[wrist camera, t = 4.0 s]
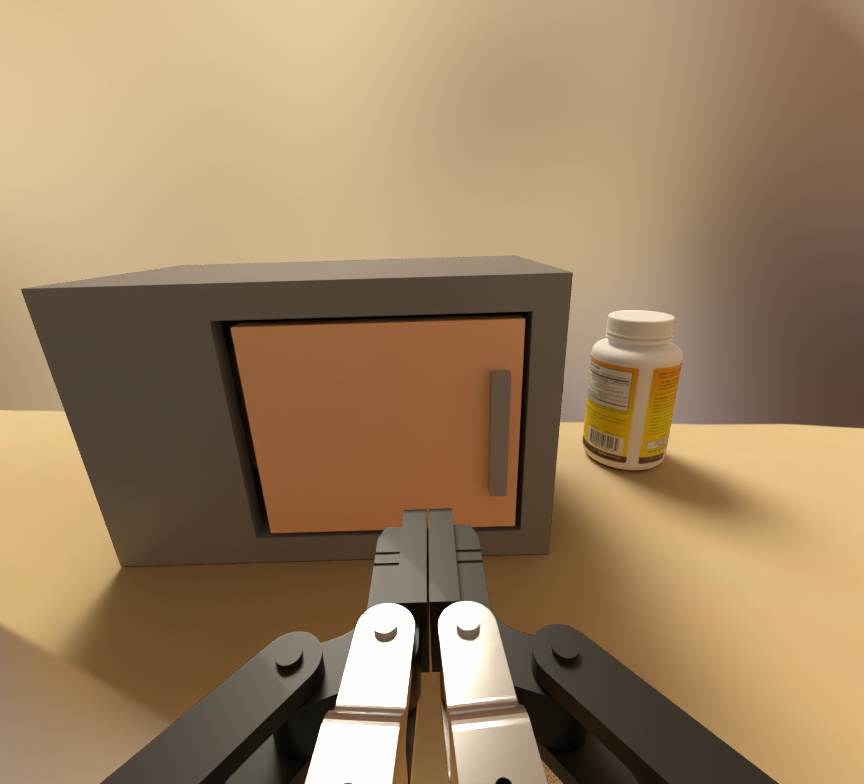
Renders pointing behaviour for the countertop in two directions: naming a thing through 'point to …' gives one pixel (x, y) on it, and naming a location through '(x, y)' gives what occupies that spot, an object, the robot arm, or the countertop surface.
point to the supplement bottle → (632, 390)
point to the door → (384, 418)
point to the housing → (224, 400)
